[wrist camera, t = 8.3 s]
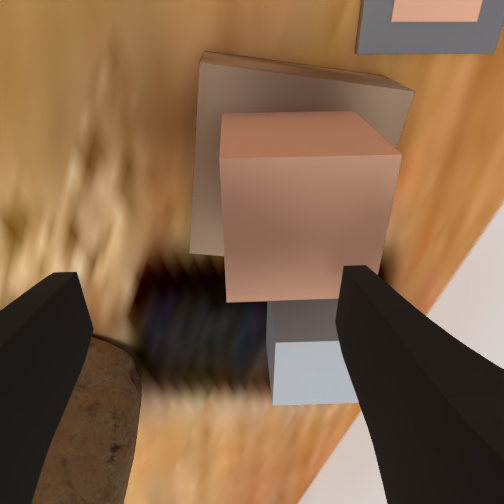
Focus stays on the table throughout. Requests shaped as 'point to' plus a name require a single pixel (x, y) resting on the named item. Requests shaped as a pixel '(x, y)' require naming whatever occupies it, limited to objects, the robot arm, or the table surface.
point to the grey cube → (306, 354)
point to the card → (429, 26)
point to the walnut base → (275, 100)
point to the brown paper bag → (94, 433)
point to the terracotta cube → (302, 201)
